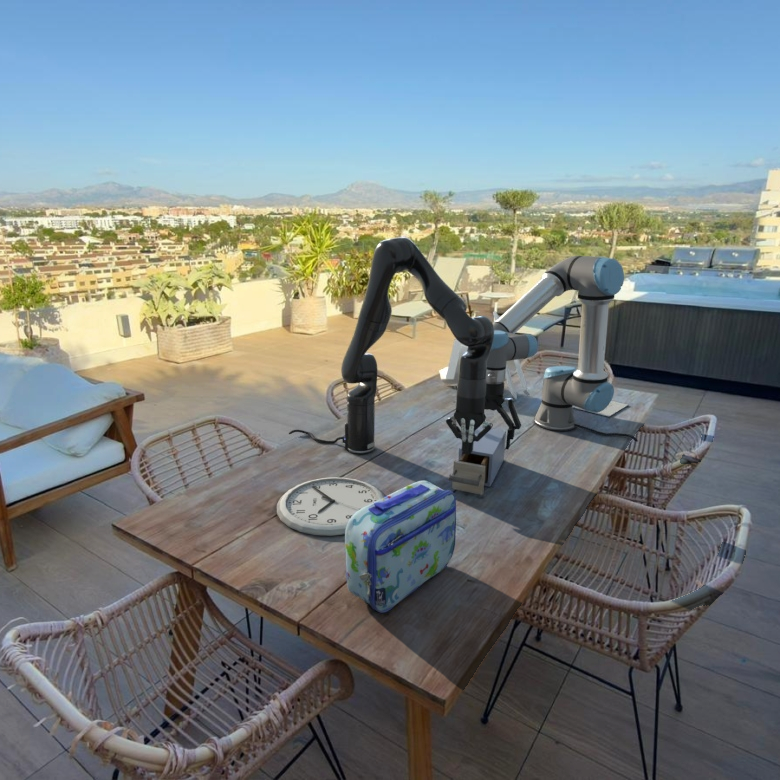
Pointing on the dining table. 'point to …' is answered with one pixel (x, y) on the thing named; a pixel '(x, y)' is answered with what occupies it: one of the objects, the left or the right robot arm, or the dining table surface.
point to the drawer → (470, 473)
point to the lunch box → (399, 543)
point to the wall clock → (325, 504)
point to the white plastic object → (452, 371)
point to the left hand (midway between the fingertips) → (467, 453)
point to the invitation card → (609, 408)
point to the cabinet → (490, 450)
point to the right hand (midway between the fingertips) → (487, 444)
